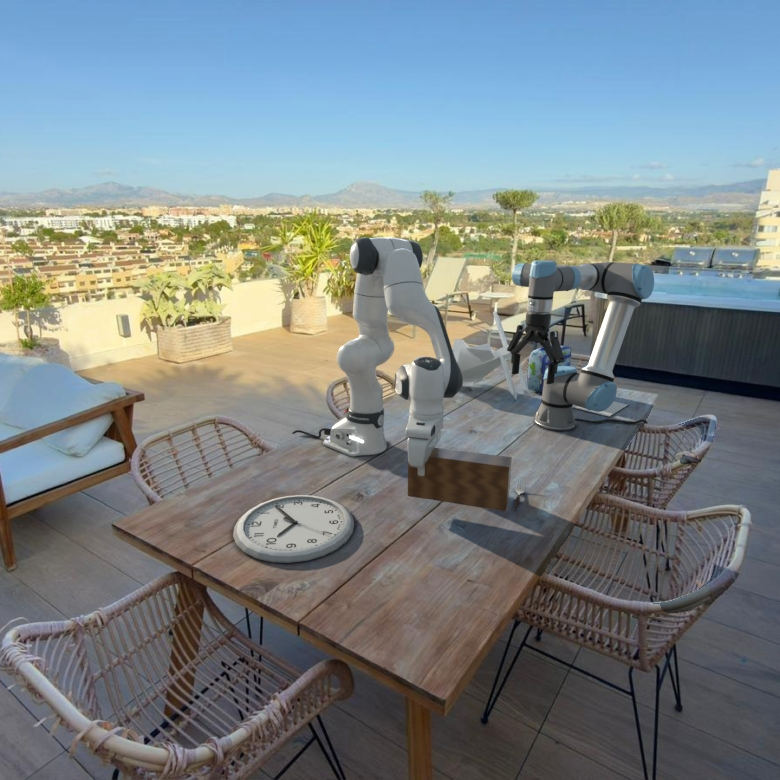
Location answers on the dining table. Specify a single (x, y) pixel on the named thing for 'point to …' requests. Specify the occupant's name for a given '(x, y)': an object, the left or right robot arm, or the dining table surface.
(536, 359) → the lunch box
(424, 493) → the box
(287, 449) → the dining table surface
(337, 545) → the wall clock
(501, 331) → the white plastic object
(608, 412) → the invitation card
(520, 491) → the fork
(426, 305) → the left robot arm
